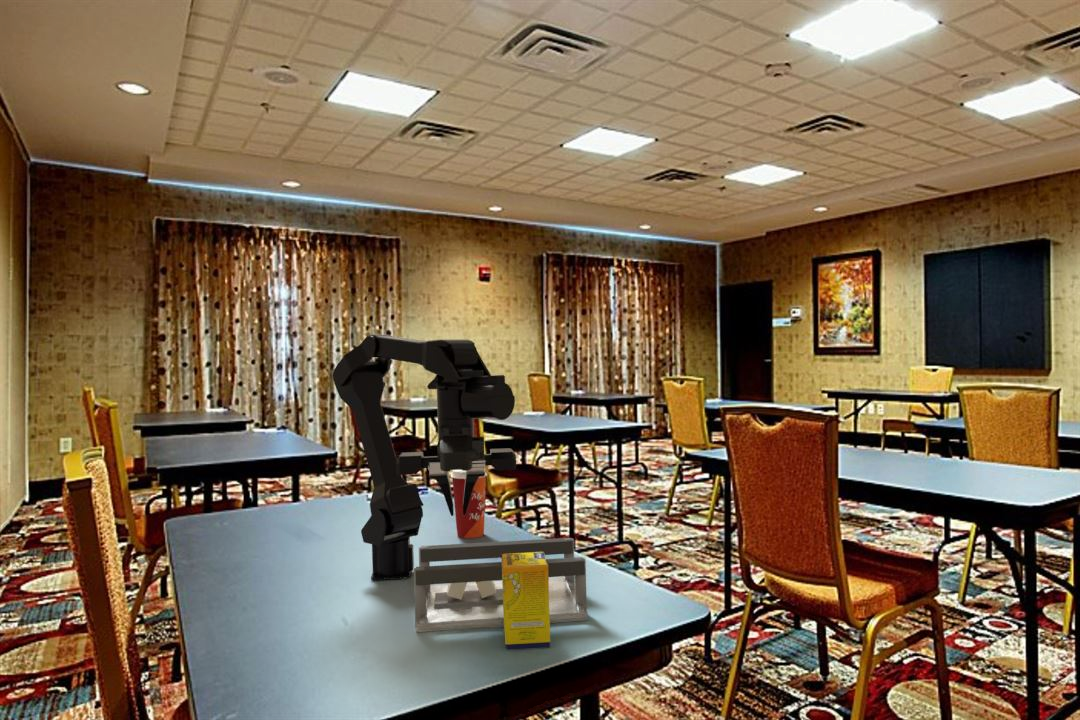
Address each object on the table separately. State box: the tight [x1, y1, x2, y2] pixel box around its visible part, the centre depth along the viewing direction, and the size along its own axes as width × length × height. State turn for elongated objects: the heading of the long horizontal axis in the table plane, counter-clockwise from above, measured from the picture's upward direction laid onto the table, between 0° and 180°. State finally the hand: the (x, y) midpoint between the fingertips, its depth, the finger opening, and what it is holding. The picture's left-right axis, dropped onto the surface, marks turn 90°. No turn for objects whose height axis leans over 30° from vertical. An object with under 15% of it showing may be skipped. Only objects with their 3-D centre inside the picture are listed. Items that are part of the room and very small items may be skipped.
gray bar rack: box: [413, 537, 588, 627], centre depth 106 cm, size 25×13×8 cm, turn 96°
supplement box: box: [501, 552, 551, 651], centre depth 93 cm, size 6×6×11 cm
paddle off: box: [476, 581, 496, 598], centre depth 106 cm, size 2×3×3 cm, turn 6°
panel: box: [415, 576, 589, 633], centre depth 106 cm, size 24×16×2 cm, turn 96°
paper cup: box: [450, 467, 488, 540], centre depth 148 cm, size 8×8×14 cm
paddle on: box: [447, 582, 468, 600], centre depth 105 cm, size 2×3×3 cm, turn 6°
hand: (458, 515), depth 112 cm, fingers closed
